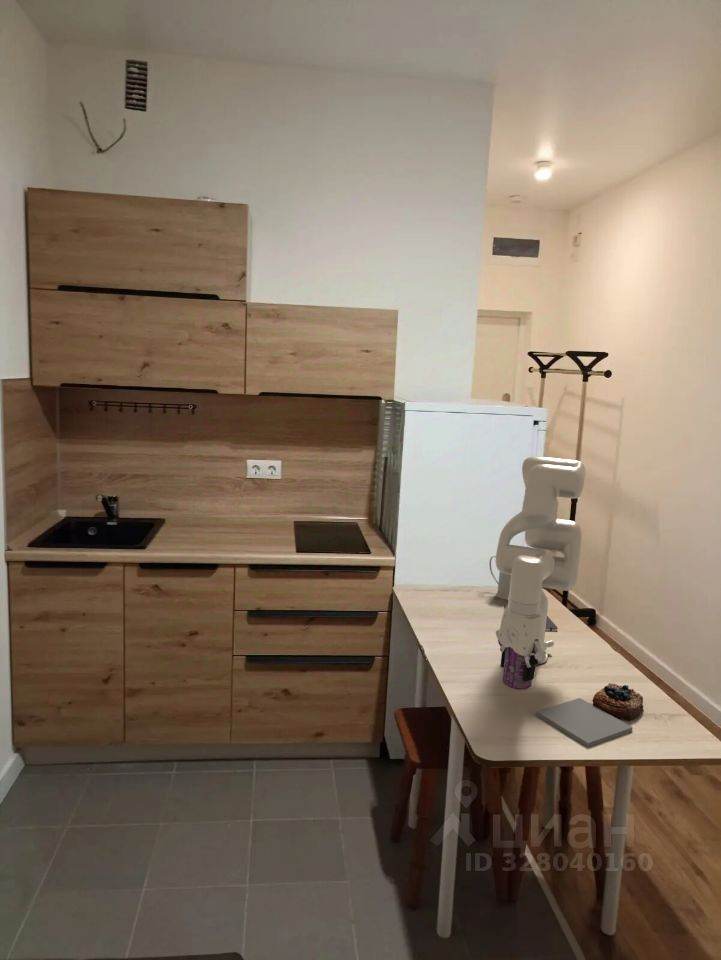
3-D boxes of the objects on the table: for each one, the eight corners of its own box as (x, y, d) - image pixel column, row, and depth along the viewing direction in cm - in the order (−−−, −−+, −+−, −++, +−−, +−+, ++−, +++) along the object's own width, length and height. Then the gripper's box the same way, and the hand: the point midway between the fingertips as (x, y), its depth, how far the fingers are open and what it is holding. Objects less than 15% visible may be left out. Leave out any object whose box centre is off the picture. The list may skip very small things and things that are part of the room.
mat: (579, 701, 177) (579, 697, 176) (632, 731, 163) (632, 727, 163) (535, 714, 168) (536, 711, 168) (587, 747, 155) (588, 743, 155)
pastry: (647, 709, 175) (650, 688, 174) (630, 725, 166) (633, 703, 165) (606, 694, 182) (608, 673, 181) (587, 708, 174) (589, 687, 173)
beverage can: (510, 675, 174) (515, 632, 172) (536, 685, 170) (541, 640, 168) (497, 685, 169) (501, 640, 167) (522, 695, 165) (527, 649, 162)
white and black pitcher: (510, 601, 251) (514, 562, 249) (480, 590, 262) (483, 553, 259) (524, 597, 257) (528, 559, 255) (494, 587, 268) (497, 550, 265)
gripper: (487, 596, 170) (481, 661, 174) (539, 621, 156) (531, 692, 159) (509, 591, 174) (503, 655, 178) (562, 616, 160) (553, 685, 163)
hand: (516, 672), depth 169 cm, fingers closed on beverage can, 7 cm apart
